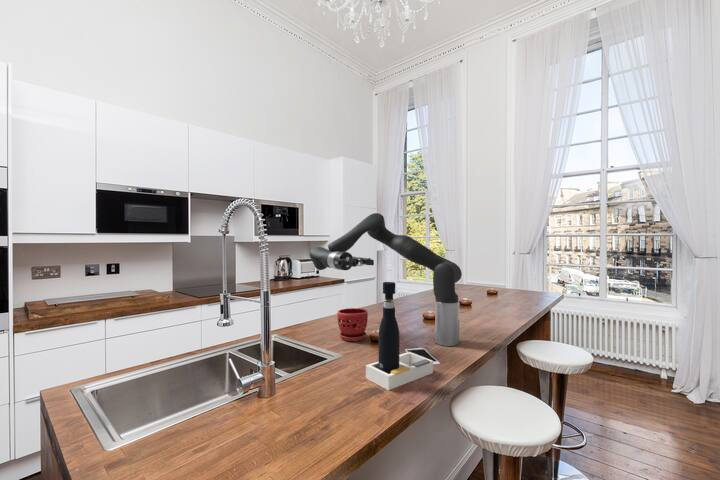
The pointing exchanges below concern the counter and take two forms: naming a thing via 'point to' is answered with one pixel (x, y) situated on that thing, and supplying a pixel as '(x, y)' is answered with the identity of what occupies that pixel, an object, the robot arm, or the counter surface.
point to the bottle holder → (400, 371)
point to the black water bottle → (388, 332)
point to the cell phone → (423, 354)
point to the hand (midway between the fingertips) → (364, 263)
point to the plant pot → (352, 323)
